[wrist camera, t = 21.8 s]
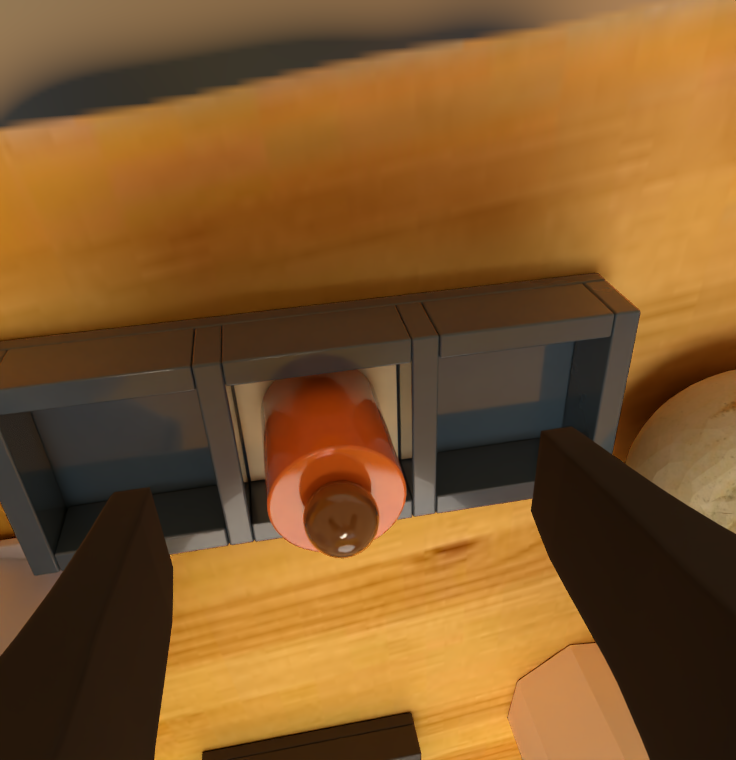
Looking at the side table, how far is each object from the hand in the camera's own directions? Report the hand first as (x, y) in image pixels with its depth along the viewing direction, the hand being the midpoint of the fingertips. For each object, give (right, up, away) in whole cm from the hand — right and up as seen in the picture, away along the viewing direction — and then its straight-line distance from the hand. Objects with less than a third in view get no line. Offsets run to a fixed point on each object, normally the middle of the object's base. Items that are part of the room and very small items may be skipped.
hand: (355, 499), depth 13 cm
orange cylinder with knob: (-1, +1, +9) cm, 9 cm away
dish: (-1, +2, +10) cm, 10 cm away
